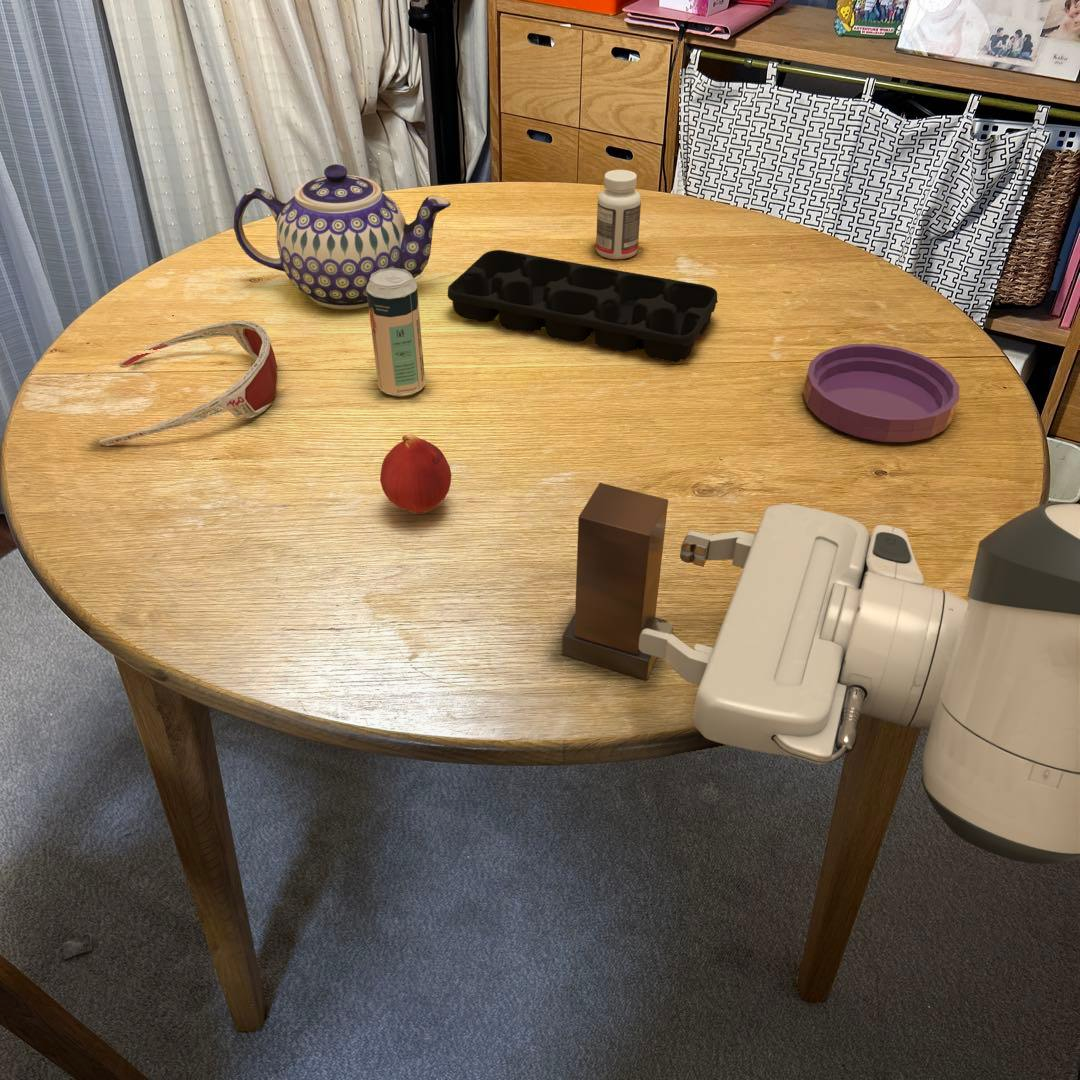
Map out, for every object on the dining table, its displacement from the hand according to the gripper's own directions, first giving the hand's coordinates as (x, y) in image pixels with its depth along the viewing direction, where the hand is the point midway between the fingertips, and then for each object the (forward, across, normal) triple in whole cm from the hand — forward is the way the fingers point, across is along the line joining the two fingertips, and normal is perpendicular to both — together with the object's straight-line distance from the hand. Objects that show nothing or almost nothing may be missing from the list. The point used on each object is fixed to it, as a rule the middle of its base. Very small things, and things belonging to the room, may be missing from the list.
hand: (663, 587), depth 64 cm
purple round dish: (-10, +41, -7) cm, 43 cm away
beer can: (+35, +26, -8) cm, 44 cm away
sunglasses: (+53, +17, -8) cm, 57 cm away
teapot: (+51, +43, -8) cm, 67 cm away
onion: (+24, +9, -8) cm, 27 cm away
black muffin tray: (+23, +47, -8) cm, 53 cm away
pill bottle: (+26, +66, -8) cm, 71 cm away
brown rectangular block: (+3, 0, -8) cm, 8 cm away
